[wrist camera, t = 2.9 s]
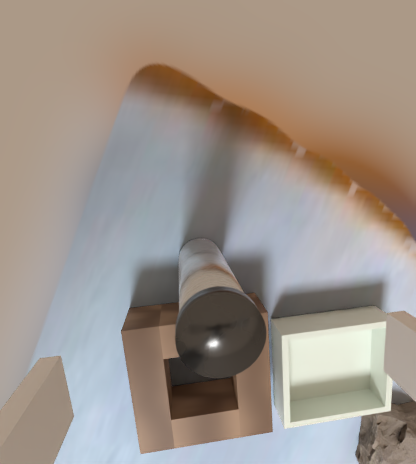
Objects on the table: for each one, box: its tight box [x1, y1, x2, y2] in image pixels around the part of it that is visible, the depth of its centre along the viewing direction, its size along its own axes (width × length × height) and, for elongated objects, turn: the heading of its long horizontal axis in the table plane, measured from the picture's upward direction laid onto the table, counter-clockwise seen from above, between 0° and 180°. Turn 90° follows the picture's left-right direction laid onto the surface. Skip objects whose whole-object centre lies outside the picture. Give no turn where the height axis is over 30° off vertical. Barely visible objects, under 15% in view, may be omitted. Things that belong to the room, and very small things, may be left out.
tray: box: [271, 306, 393, 429], centre depth 28 cm, size 11×10×3 cm
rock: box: [355, 401, 416, 464], centre depth 31 cm, size 14×9×4 cm
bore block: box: [121, 293, 273, 454], centre depth 26 cm, size 12×12×4 cm
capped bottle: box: [175, 238, 266, 378], centre depth 20 cm, size 4×4×13 cm
